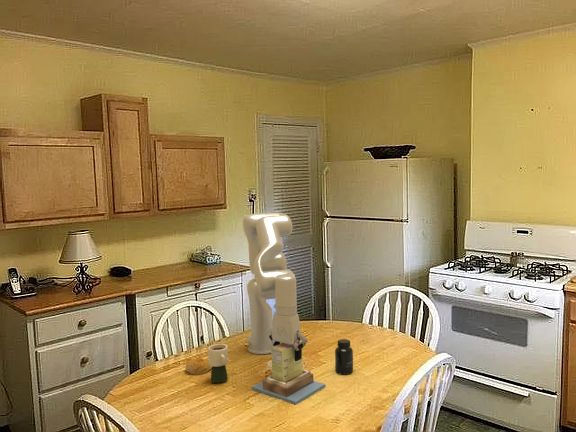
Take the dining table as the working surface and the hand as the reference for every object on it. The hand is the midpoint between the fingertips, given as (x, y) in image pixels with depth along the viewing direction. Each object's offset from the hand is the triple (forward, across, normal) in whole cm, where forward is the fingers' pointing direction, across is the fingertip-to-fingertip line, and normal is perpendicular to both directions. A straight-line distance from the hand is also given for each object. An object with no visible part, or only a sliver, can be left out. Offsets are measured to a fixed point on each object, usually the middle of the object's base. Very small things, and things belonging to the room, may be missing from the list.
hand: (287, 356), depth 177 cm
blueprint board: (+11, +1, 0) cm, 11 cm away
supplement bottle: (+12, +9, +24) cm, 28 cm away
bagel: (+12, -39, -8) cm, 41 cm away
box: (+7, 0, 0) cm, 8 cm away
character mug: (+12, -24, -10) cm, 29 cm away
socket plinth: (+11, +1, 0) cm, 11 cm away
